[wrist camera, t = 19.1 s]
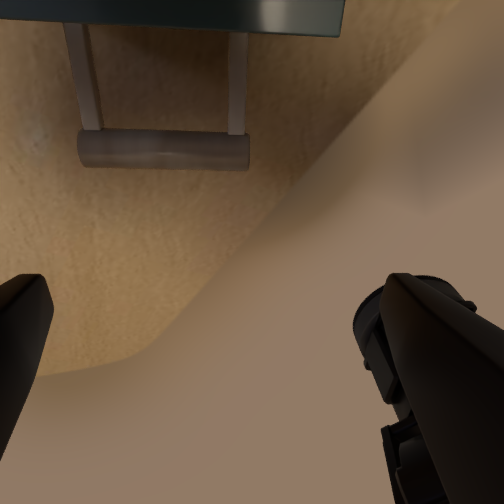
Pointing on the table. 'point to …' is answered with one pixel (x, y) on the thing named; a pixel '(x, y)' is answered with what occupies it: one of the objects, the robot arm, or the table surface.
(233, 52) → the drawer
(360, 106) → the table surface
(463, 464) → the robot arm
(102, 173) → the table surface
